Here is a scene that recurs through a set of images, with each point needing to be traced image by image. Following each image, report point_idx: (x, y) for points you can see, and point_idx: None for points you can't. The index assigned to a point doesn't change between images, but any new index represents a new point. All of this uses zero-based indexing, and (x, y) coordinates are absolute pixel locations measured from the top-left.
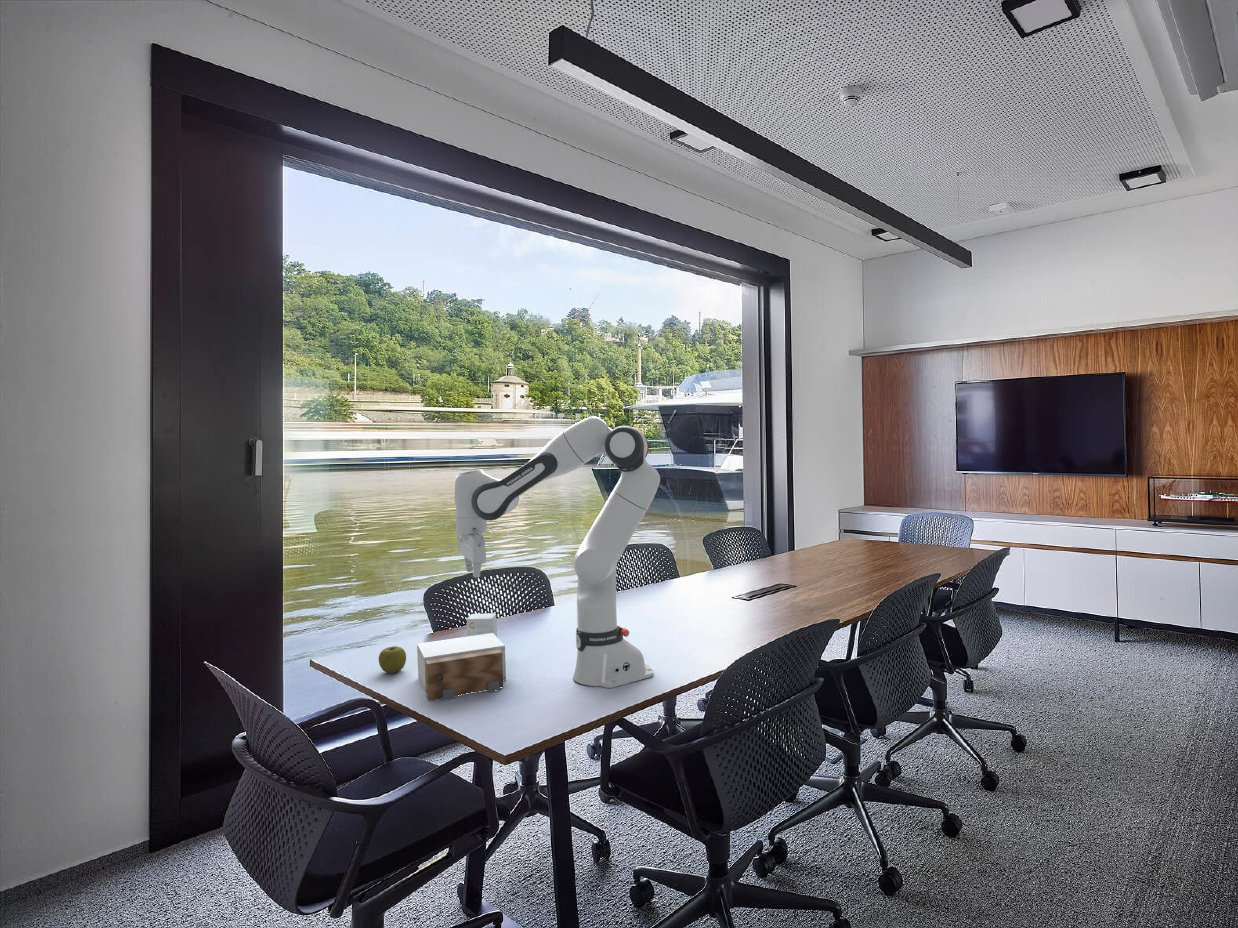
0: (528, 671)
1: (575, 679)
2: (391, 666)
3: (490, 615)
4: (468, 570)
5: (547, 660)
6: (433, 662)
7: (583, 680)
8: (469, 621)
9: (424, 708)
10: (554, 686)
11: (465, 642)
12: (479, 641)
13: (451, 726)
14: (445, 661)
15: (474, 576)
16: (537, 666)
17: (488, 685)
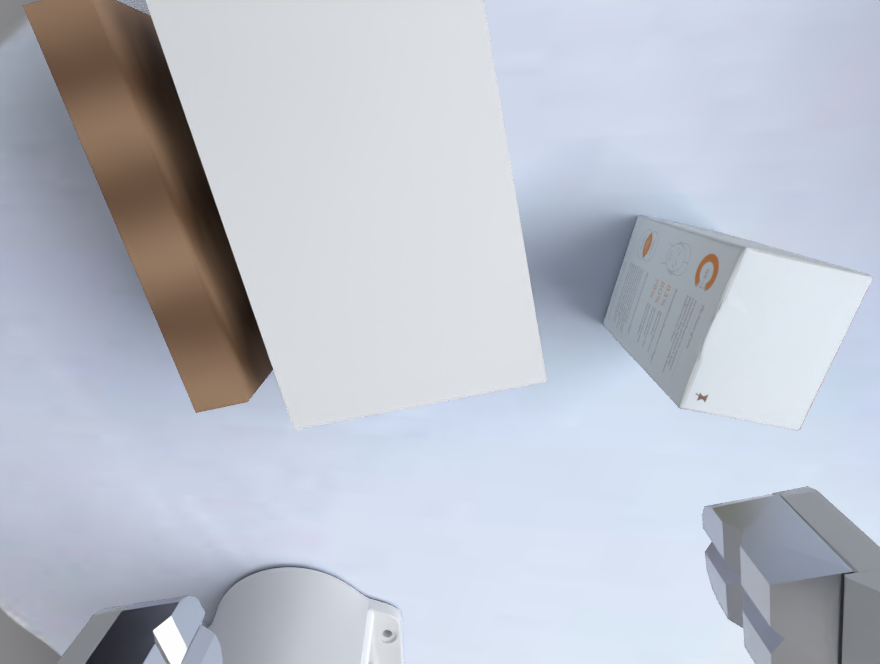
0: (416, 442)
1: (268, 573)
2: None
3: (754, 399)
4: (717, 536)
5: (520, 511)
6: (49, 46)
7: (232, 596)
8: (726, 262)
9: None
10: (241, 507)
11: (401, 231)
12: (400, 309)
13: None
14: (74, 121)
15: (92, 623)
16: (463, 475)
17: None
